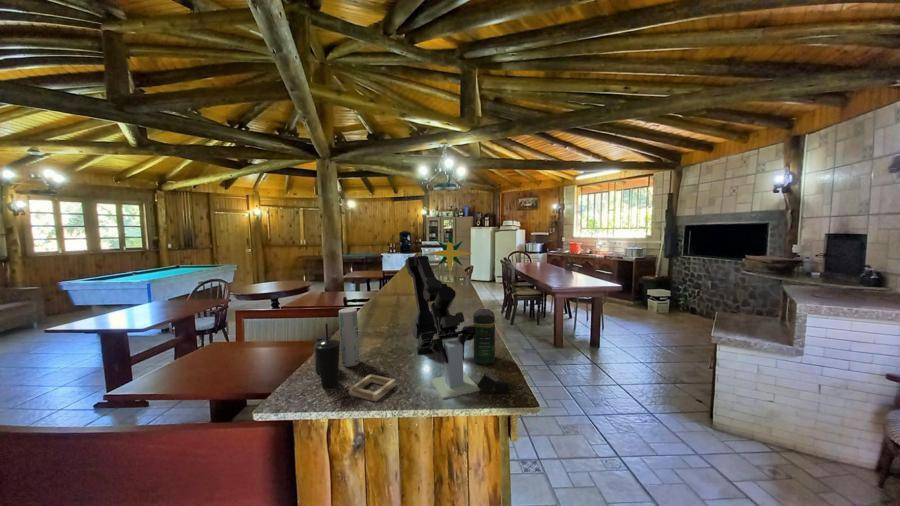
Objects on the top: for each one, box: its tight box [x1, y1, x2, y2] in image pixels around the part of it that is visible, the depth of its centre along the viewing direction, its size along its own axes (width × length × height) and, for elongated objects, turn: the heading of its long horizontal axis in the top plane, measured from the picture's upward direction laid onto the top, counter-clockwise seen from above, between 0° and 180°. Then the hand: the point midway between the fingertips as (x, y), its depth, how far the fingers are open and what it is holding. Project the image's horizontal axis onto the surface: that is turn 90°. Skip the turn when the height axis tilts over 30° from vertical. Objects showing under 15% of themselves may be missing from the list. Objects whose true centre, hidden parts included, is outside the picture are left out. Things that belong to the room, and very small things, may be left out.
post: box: [443, 339, 464, 389], centre depth 102 cm, size 4×4×13 cm
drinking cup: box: [314, 323, 341, 390], centre depth 105 cm, size 8×8×20 cm
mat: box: [429, 371, 481, 400], centre depth 103 cm, size 12×12×1 cm
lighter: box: [476, 372, 511, 395], centre depth 99 cm, size 9×2×6 cm
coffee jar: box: [472, 308, 496, 366], centre depth 121 cm, size 10×8×19 cm
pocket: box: [348, 373, 397, 402], centre depth 102 cm, size 10×10×2 cm
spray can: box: [338, 307, 360, 368], centre depth 121 cm, size 6×6×20 cm
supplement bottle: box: [313, 334, 332, 374], centre depth 116 cm, size 7×7×12 cm
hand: (455, 361), depth 101 cm, fingers open, 5 cm apart
